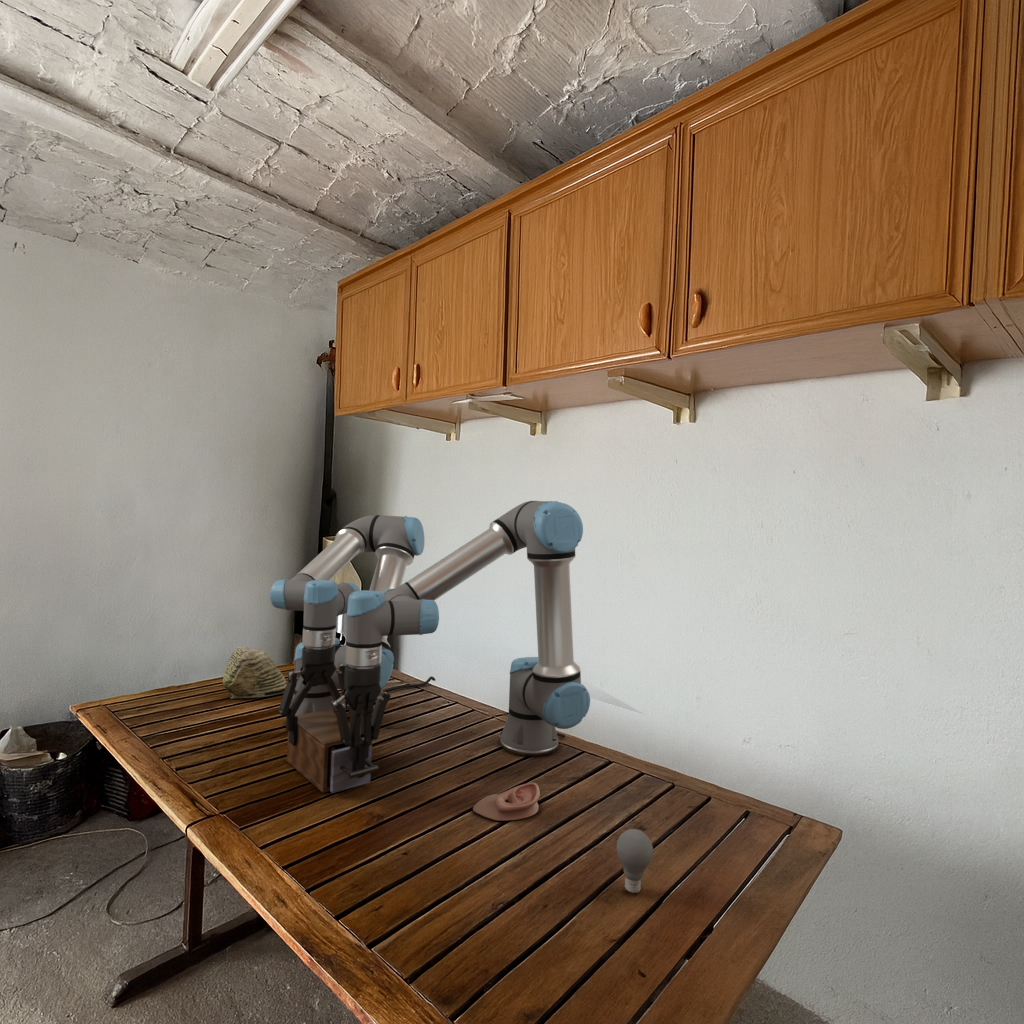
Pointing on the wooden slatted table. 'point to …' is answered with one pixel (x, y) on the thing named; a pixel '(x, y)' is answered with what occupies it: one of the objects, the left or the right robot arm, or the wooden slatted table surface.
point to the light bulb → (634, 857)
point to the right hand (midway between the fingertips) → (358, 774)
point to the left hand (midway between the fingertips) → (315, 738)
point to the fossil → (252, 674)
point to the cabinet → (314, 746)
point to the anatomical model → (510, 803)
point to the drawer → (346, 769)
